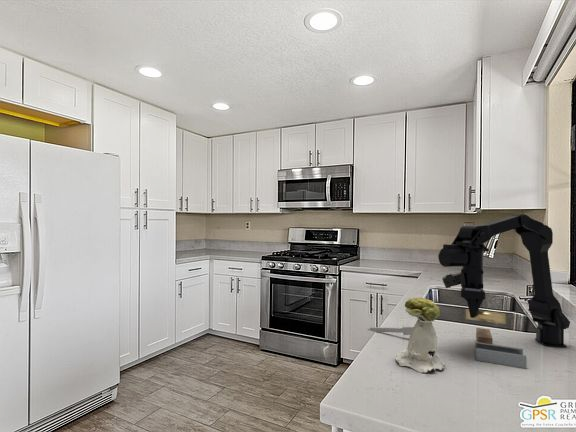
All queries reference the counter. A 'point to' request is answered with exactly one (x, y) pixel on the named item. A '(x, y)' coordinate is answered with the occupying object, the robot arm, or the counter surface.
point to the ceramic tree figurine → (421, 337)
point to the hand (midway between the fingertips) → (472, 316)
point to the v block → (501, 355)
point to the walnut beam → (483, 336)
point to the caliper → (392, 330)
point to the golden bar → (488, 316)
